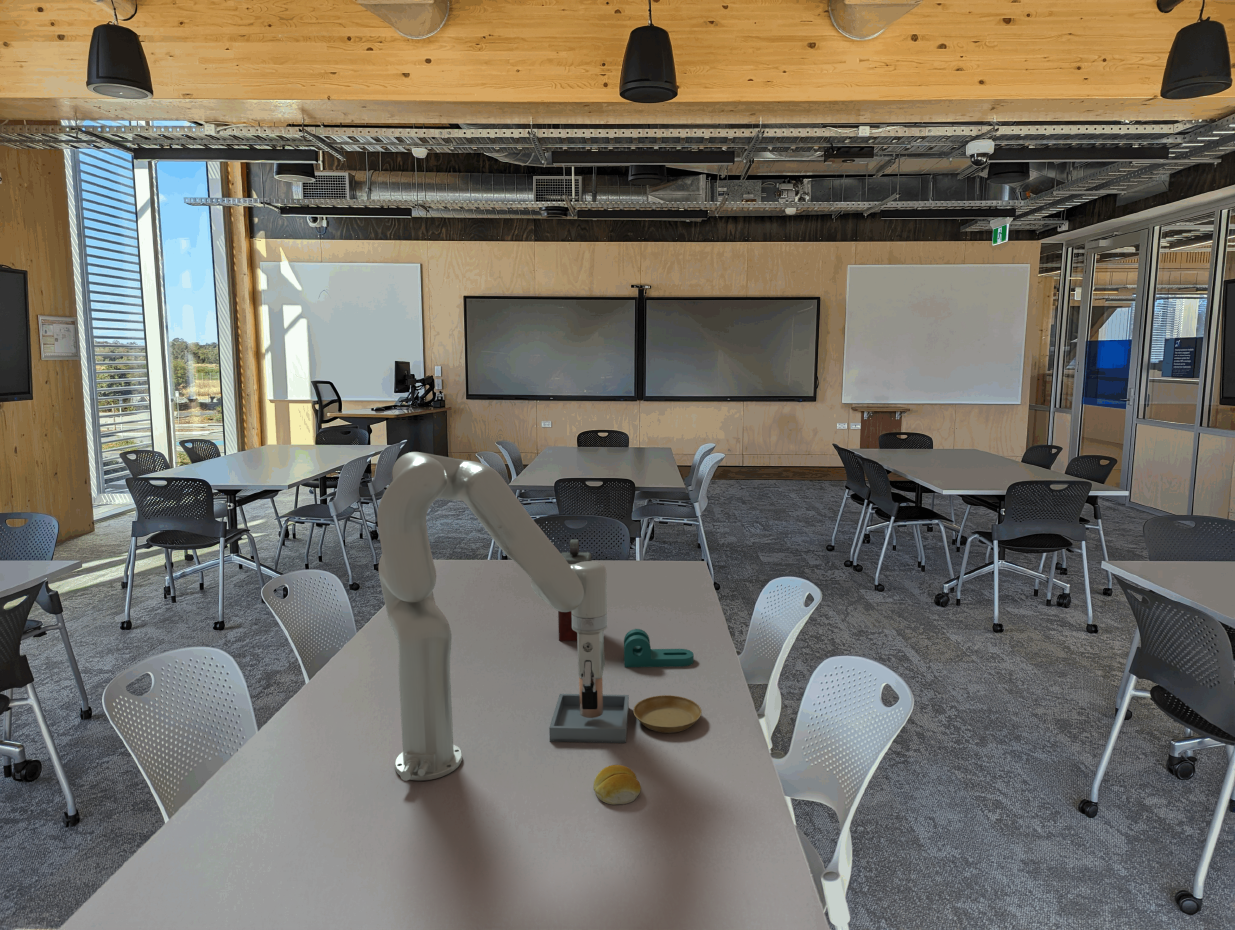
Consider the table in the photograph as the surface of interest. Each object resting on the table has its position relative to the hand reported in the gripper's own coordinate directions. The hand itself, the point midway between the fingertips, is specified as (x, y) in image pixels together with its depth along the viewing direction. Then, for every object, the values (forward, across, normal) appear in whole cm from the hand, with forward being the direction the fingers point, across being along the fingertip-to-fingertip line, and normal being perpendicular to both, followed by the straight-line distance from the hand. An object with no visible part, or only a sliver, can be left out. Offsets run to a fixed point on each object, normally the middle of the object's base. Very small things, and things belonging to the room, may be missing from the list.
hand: (591, 701), depth 155 cm
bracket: (+6, +34, -14) cm, 37 cm away
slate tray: (+5, 0, 0) cm, 5 cm away
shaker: (+2, 0, 0) cm, 2 cm away
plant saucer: (+6, +2, -16) cm, 17 cm away
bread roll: (+5, -25, -7) cm, 26 cm away
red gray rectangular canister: (+5, +52, +8) cm, 53 cm away
